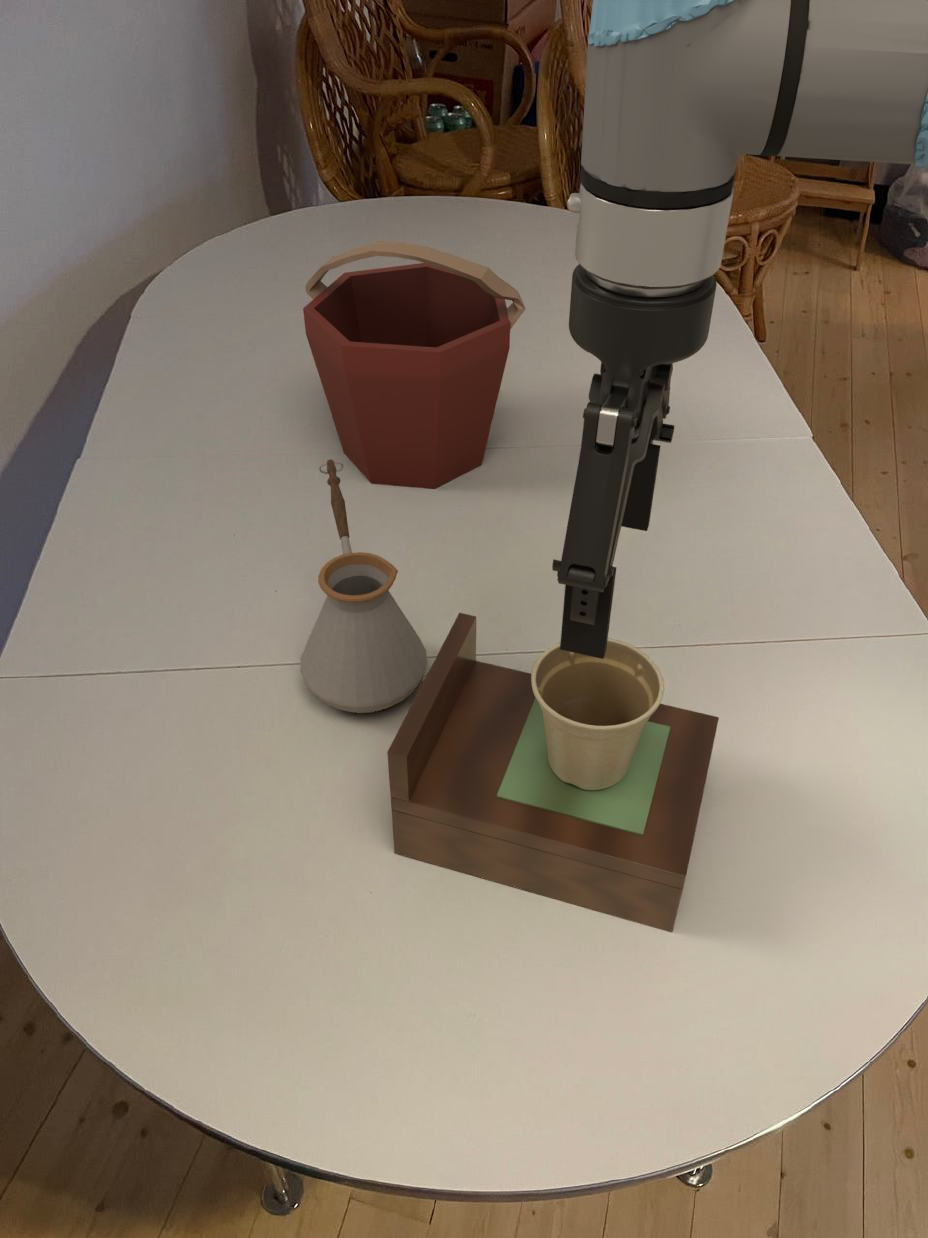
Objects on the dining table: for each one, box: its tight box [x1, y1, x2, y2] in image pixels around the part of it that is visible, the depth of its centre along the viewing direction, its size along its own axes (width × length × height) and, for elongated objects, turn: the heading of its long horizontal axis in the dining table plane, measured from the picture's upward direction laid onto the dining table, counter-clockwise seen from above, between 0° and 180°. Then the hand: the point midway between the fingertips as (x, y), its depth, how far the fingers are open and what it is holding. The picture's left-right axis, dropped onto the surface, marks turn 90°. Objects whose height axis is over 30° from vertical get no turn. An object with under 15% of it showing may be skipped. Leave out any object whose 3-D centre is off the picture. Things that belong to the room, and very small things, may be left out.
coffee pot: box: [299, 458, 428, 714], centre depth 95 cm, size 21×12×15 cm, turn 13°
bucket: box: [302, 240, 527, 490], centre depth 117 cm, size 24×22×25 cm
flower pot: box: [531, 637, 665, 790], centre depth 77 cm, size 9×9×9 cm
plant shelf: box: [386, 612, 719, 933], centre depth 81 cm, size 22×16×12 cm
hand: (607, 583), depth 68 cm, fingers open, 13 cm apart
